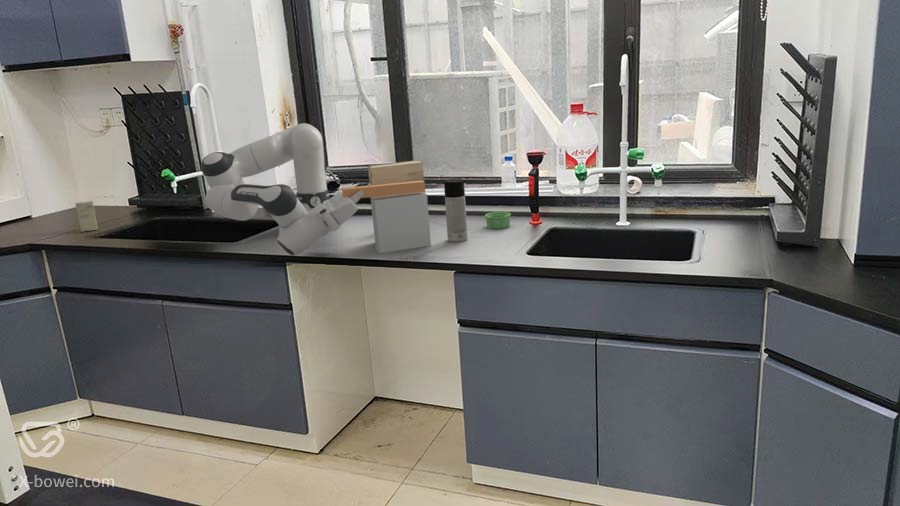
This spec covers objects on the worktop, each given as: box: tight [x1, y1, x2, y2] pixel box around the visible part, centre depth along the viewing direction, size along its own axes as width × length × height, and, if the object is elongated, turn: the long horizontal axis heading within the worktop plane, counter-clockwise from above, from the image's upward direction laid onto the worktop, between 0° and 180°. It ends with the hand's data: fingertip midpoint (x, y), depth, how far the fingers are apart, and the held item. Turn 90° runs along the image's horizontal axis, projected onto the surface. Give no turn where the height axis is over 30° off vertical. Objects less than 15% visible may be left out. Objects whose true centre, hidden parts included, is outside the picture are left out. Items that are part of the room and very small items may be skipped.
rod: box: [341, 180, 426, 199], centre depth 206 cm, size 3×26×3 cm, turn 109°
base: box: [370, 192, 432, 254], centre depth 210 cm, size 6×17×17 cm, turn 109°
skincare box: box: [75, 200, 99, 232], centre depth 271 cm, size 6×4×12 cm
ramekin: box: [485, 211, 511, 230], centre depth 231 cm, size 9×9×4 cm
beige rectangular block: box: [367, 160, 426, 199], centre depth 218 cm, size 6×17×26 cm, turn 109°
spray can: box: [443, 178, 468, 243], centre depth 214 cm, size 7×7×20 cm
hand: (361, 190), depth 203 cm, fingers closed on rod, 3 cm apart
